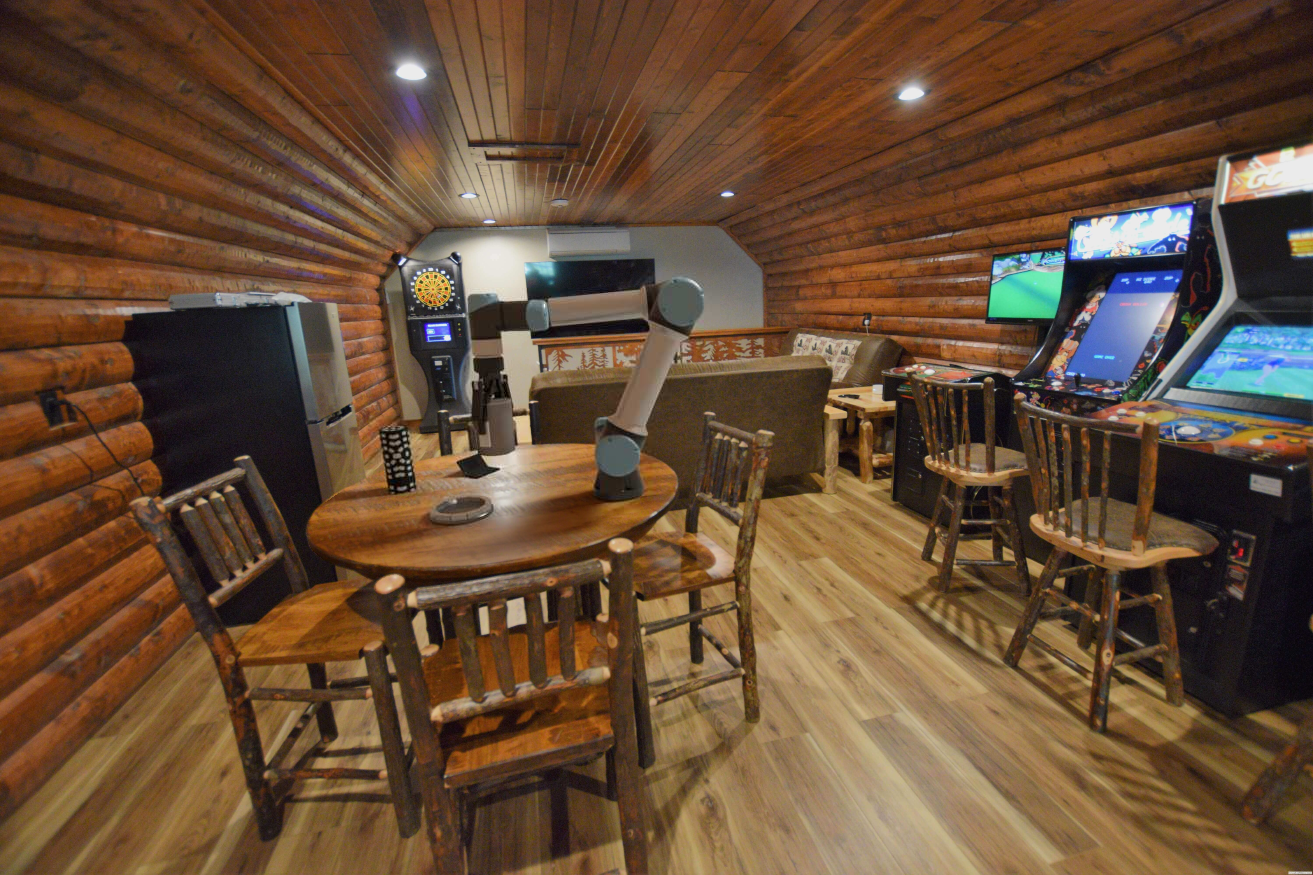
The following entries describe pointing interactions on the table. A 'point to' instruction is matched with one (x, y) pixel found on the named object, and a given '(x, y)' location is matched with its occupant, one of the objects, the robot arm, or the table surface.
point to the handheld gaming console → (475, 467)
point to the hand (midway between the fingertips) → (496, 441)
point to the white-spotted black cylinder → (397, 459)
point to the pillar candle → (498, 428)
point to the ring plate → (461, 510)
